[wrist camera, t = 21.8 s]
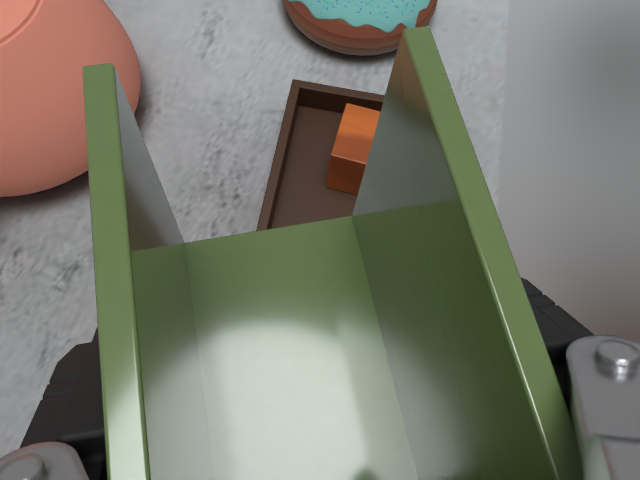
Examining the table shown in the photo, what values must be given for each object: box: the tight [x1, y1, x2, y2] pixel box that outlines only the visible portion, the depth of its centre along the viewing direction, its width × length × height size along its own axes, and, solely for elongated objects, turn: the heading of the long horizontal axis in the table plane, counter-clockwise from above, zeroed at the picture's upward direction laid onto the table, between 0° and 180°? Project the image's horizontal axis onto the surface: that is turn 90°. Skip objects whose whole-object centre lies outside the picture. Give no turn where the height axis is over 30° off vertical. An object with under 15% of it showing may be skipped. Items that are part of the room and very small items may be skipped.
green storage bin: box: [82, 26, 584, 480], centre depth 11 cm, size 10×6×8 cm, turn 12°
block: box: [326, 103, 380, 195], centre depth 36 cm, size 4×4×4 cm
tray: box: [256, 79, 385, 231], centre depth 37 cm, size 12×11×2 cm
